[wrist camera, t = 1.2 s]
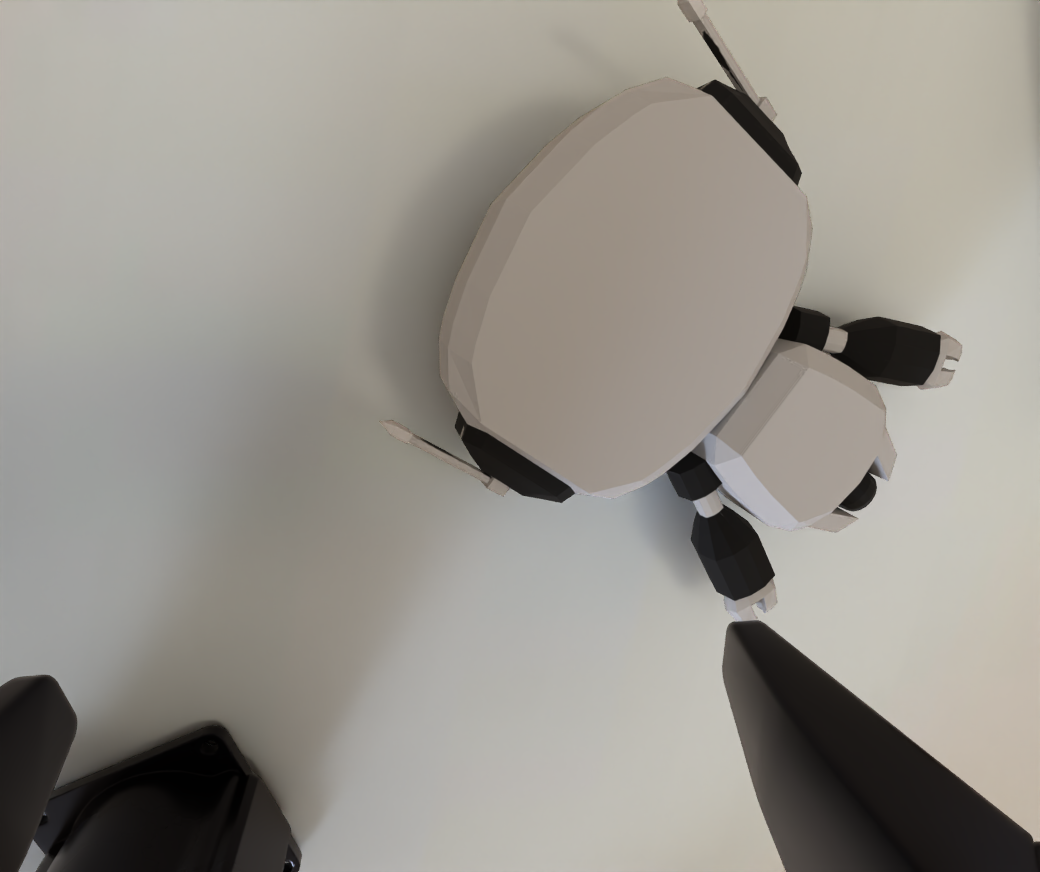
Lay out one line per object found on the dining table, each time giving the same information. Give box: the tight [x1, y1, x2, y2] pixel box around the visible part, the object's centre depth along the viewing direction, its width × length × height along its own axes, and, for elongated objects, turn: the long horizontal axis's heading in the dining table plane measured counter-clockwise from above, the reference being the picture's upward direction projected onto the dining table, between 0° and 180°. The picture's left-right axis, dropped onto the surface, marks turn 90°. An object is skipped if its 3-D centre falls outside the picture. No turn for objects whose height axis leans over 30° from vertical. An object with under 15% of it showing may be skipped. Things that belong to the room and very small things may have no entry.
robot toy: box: [379, 0, 962, 621], centre depth 18 cm, size 12×4×15 cm
